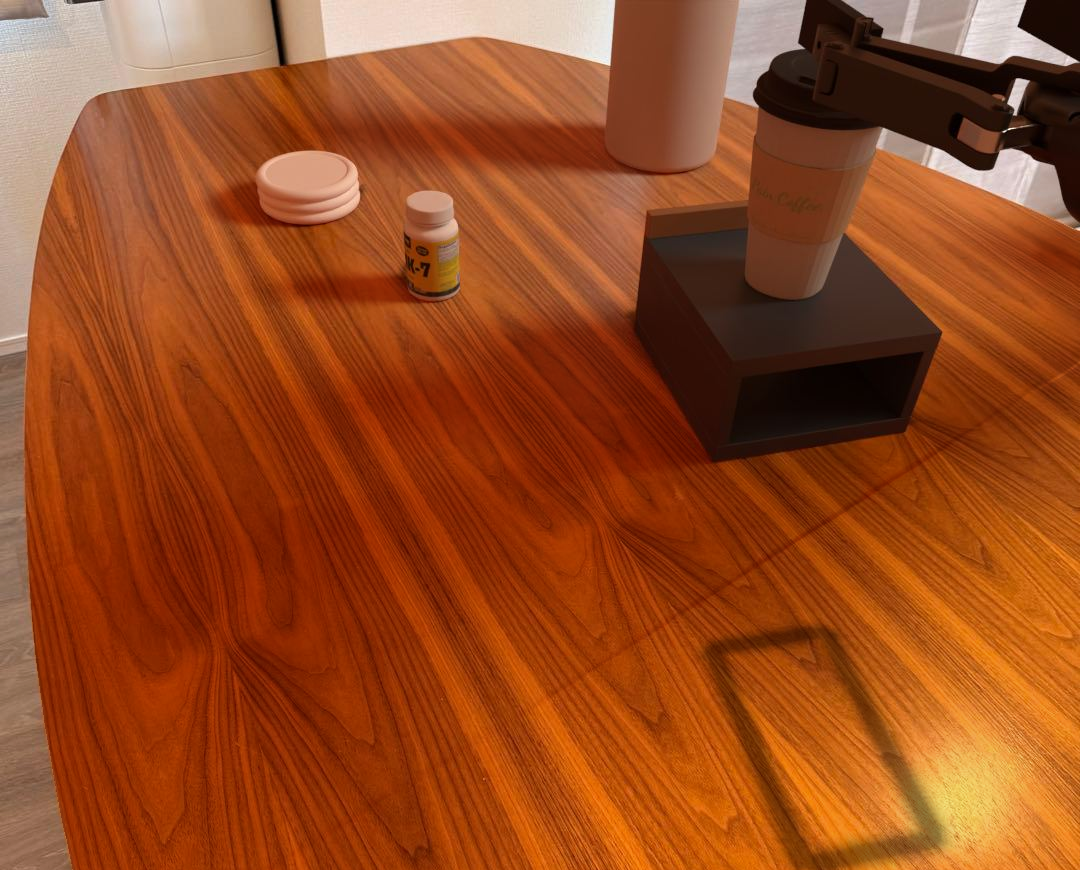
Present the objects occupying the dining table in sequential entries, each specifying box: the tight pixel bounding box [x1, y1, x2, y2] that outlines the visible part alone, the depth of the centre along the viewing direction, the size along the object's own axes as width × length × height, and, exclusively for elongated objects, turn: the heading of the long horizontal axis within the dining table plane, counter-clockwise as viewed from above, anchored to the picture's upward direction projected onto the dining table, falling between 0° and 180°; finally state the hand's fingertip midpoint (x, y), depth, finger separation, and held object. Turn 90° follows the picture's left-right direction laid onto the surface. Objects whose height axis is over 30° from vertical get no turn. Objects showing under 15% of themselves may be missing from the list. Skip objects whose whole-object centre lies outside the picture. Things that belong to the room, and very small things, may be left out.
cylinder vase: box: [604, 0, 740, 174], centre depth 101 cm, size 12×12×25 cm
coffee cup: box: [745, 48, 884, 300], centre depth 68 cm, size 9×9×15 cm
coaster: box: [254, 150, 361, 226], centre depth 97 cm, size 10×10×4 cm
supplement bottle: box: [402, 189, 461, 302], centre depth 85 cm, size 5×5×8 cm
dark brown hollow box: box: [633, 199, 944, 463], centre depth 75 cm, size 18×16×11 cm
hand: (923, 7), depth 53 cm, fingers open, 13 cm apart
